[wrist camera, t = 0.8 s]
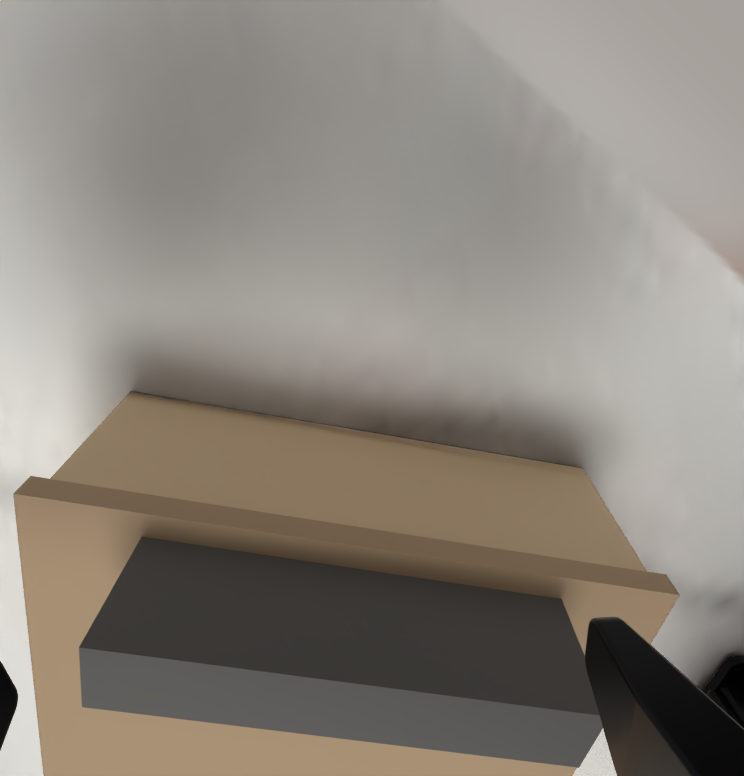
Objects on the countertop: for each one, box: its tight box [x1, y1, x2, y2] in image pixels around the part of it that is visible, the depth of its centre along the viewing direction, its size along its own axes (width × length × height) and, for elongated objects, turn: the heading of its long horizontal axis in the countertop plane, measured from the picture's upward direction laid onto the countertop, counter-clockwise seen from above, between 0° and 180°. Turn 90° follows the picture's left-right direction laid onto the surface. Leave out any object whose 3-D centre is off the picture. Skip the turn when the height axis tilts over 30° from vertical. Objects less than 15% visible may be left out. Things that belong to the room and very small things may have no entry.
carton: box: [50, 392, 647, 572], centre depth 22 cm, size 18×16×6 cm
